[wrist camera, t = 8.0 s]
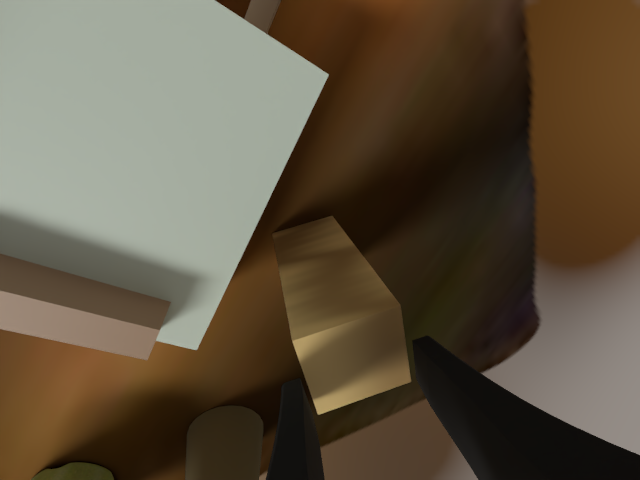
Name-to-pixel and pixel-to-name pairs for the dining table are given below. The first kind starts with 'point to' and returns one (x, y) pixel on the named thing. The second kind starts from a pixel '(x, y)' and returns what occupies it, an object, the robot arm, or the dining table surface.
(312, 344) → the wooden block
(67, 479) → the plant pot
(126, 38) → the lid
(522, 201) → the dining table surface
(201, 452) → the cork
